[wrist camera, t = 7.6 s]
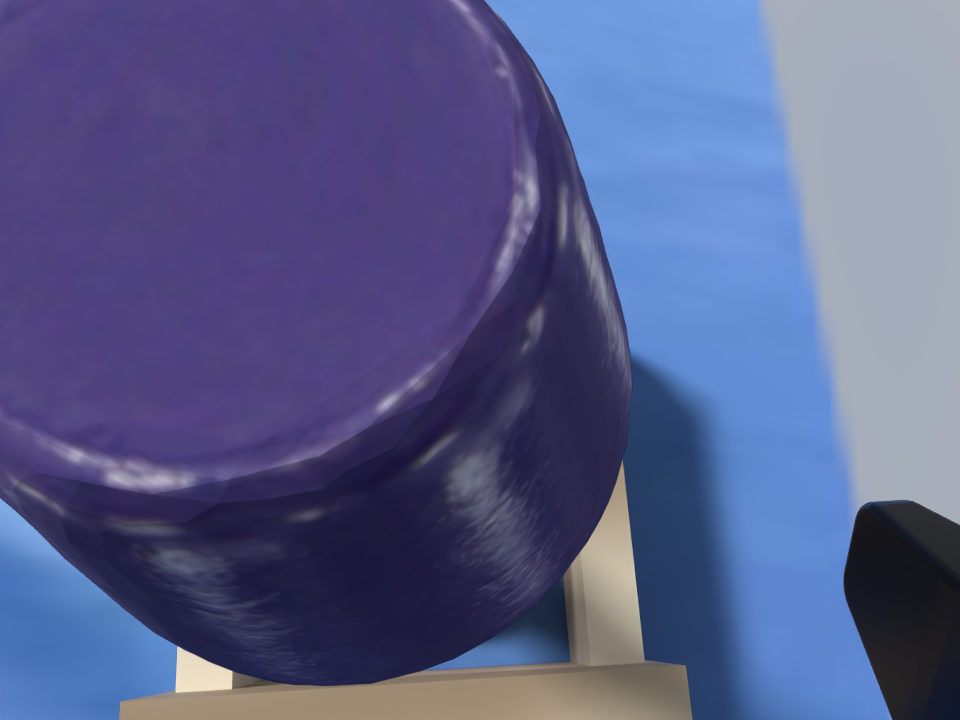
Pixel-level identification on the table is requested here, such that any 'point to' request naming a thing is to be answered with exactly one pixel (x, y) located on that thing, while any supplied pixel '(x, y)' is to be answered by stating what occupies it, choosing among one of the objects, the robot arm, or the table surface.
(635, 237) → the table surface
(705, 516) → the table surface
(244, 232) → the toy lamp
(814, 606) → the table surface
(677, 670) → the birch bracket
